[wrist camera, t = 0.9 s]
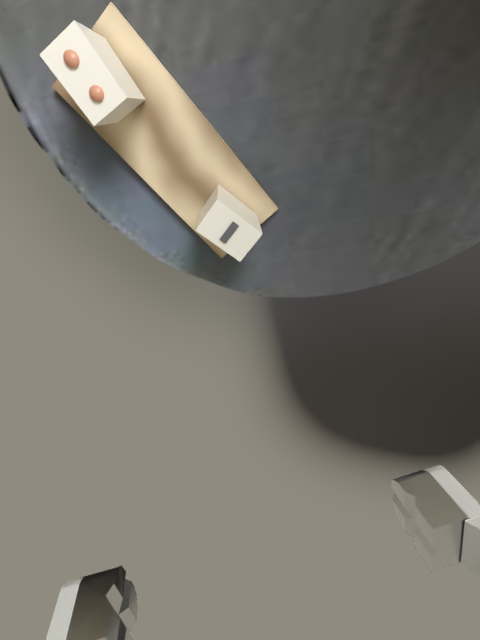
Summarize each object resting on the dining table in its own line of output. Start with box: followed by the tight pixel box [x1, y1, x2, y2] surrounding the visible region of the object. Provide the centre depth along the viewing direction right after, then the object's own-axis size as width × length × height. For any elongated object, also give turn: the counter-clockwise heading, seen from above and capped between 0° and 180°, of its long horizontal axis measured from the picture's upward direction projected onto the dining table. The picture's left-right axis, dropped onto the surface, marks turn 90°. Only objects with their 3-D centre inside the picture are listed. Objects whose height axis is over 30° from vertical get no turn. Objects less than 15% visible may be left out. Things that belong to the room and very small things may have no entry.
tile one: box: [195, 184, 263, 262], centre depth 39 cm, size 4×6×8 cm
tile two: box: [40, 20, 146, 126], centre depth 32 cm, size 4×6×8 cm
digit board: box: [52, 2, 278, 258], centre depth 39 cm, size 10×26×1 cm, turn 42°
